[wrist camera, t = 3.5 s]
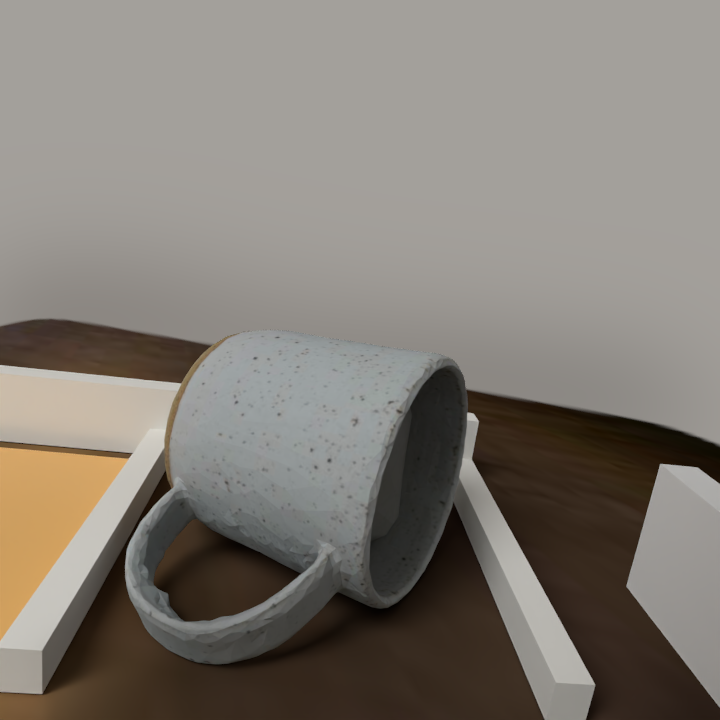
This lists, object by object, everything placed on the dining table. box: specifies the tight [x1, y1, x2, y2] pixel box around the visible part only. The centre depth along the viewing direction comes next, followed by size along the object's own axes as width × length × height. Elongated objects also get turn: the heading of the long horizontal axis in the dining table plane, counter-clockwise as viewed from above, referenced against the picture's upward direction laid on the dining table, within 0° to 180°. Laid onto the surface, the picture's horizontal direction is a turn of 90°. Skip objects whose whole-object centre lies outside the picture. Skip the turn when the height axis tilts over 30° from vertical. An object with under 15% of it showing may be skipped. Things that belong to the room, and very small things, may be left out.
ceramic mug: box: [125, 330, 468, 664], centre depth 19 cm, size 11×8×8 cm
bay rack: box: [0, 365, 595, 720], centre depth 21 cm, size 27×14×3 cm, turn 93°
